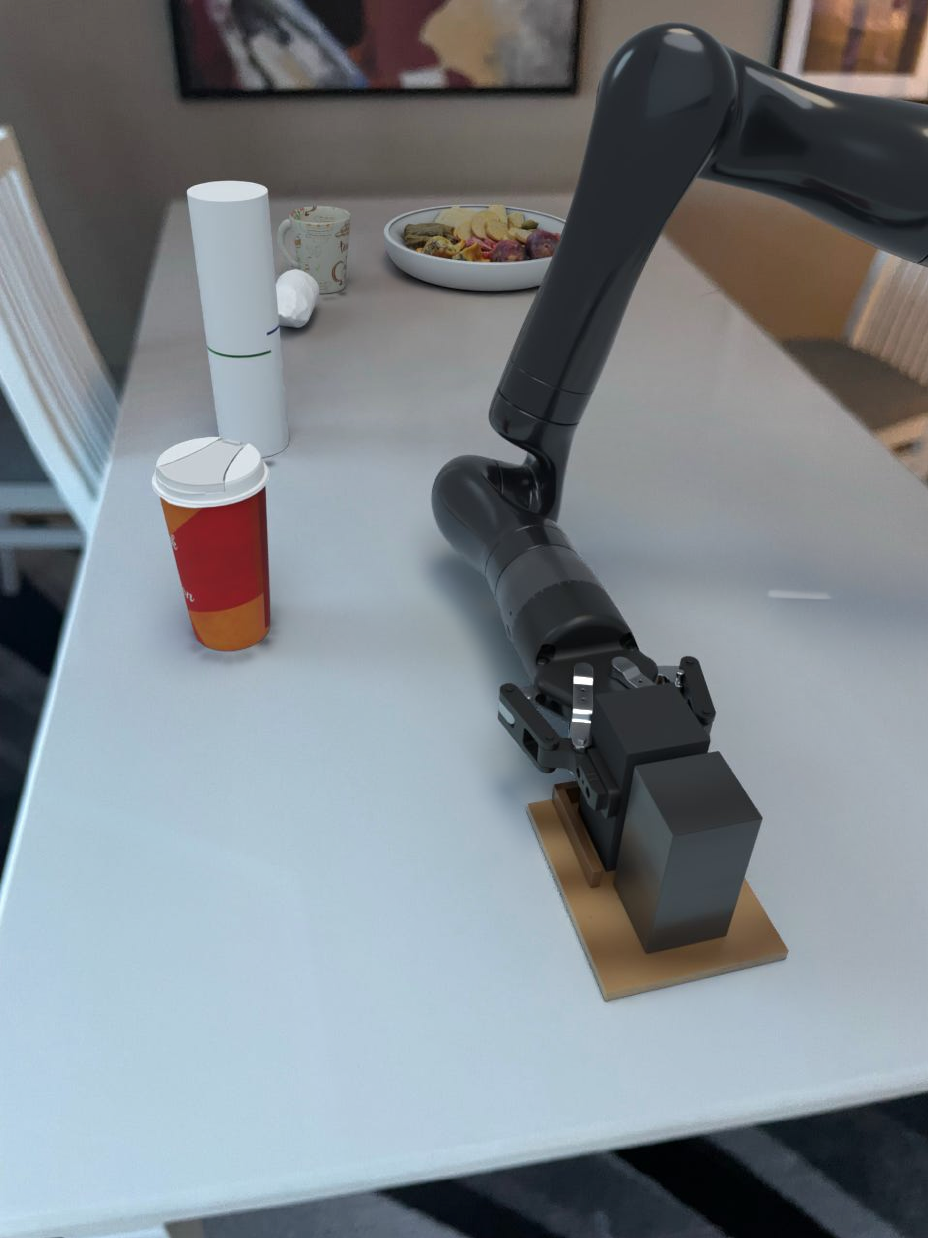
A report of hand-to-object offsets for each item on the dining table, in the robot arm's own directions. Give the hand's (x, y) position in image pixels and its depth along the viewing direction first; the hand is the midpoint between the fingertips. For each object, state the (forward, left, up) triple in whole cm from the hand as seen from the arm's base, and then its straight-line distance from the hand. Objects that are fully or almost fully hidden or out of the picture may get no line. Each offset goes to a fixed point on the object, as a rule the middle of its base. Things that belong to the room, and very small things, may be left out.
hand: (659, 798), depth 57 cm
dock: (0, 0, -7) cm, 7 cm away
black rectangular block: (-1, -2, -6) cm, 7 cm away
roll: (-39, -87, -7) cm, 95 cm away
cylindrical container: (-16, -63, -7) cm, 65 cm away
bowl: (-76, -88, -7) cm, 116 cm away
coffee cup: (+4, -38, -7) cm, 38 cm away
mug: (-51, -98, -7) cm, 110 cm away
